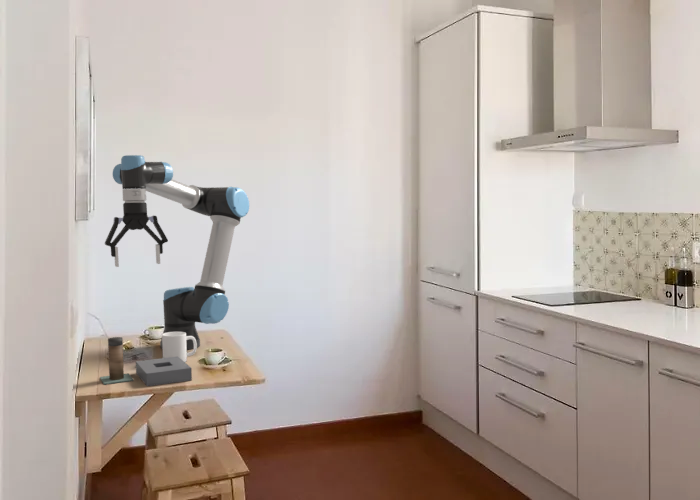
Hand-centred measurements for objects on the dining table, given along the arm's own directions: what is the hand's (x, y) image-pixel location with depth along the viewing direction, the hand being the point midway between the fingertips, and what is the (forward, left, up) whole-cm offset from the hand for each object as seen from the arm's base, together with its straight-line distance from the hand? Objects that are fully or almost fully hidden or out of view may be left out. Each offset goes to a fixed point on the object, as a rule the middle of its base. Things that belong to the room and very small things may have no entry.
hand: (137, 265), depth 230 cm
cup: (-5, +14, -36) cm, 39 cm away
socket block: (+13, +4, -36) cm, 38 cm away
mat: (+9, -10, -36) cm, 38 cm away
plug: (+9, -10, -35) cm, 38 cm away
